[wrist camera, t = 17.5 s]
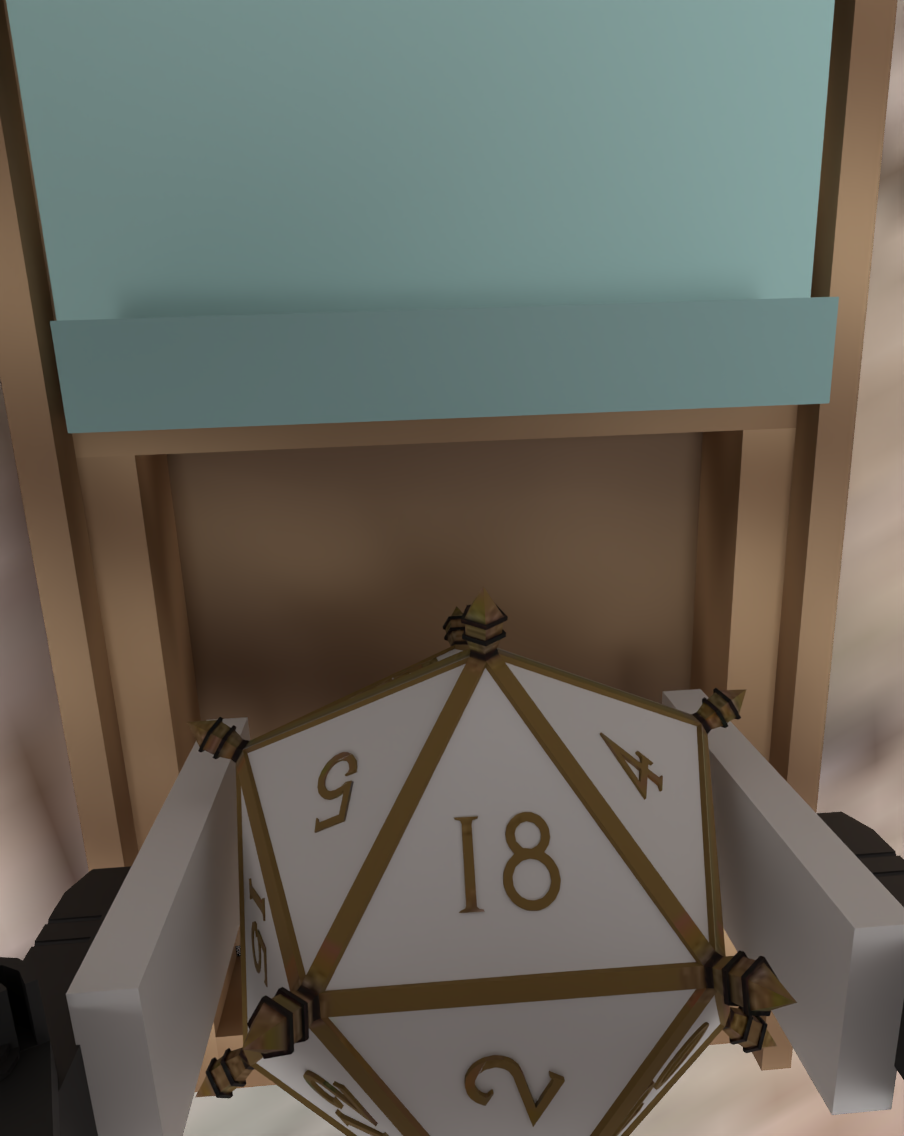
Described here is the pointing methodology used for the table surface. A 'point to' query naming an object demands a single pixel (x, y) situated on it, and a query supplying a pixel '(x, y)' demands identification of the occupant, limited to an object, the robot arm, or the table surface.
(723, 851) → the robot arm
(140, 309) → the cover
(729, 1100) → the table surface
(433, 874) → the game die
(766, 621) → the board
